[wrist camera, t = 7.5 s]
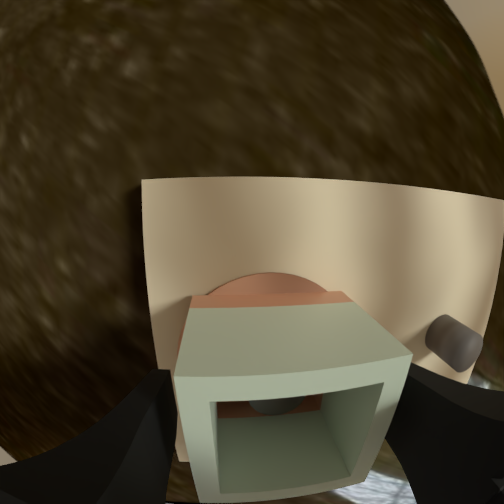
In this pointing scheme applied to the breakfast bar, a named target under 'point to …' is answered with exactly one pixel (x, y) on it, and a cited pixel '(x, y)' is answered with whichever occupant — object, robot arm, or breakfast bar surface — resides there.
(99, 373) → the breakfast bar surface
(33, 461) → the robot arm
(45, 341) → the breakfast bar surface
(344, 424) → the sleeve
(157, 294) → the pin board
